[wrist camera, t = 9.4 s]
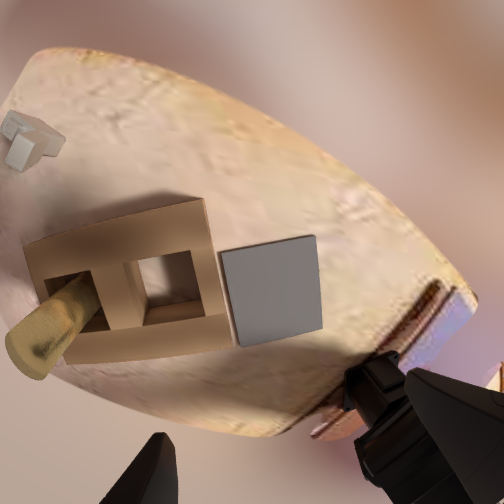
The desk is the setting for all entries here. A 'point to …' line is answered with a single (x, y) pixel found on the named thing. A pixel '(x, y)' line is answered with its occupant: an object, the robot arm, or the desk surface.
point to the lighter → (29, 140)
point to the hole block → (136, 285)
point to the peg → (52, 327)
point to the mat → (274, 290)
